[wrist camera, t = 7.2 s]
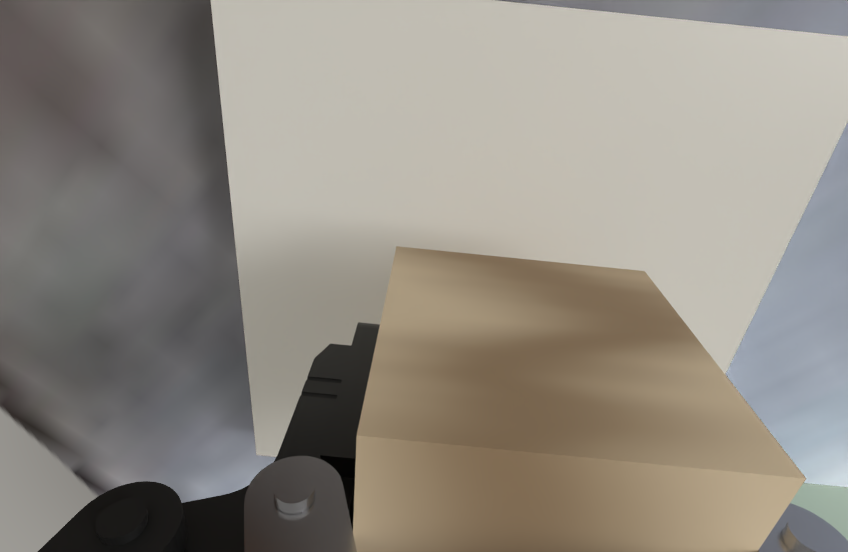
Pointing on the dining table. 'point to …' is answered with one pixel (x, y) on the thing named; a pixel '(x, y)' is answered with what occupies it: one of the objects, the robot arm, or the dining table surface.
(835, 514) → the sage block
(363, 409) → the beech block
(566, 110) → the base plate
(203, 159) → the dining table surface
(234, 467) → the dining table surface
